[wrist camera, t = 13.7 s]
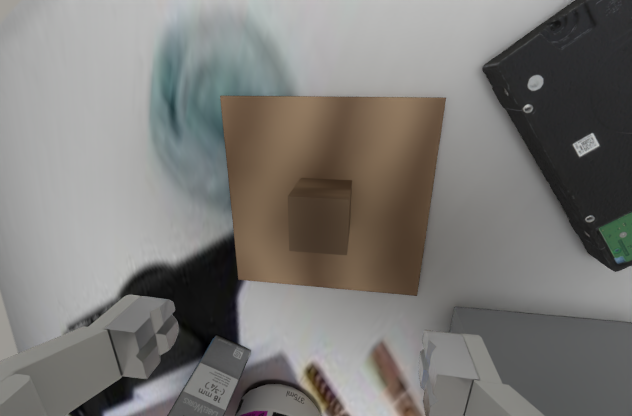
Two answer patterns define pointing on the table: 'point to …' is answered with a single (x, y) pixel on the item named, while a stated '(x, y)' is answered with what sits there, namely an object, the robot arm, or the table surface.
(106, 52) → the table surface
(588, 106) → the disk drive
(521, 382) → the storage box
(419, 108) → the lid
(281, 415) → the supplement can
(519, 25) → the table surface
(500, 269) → the table surface
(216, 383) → the label tape cartridge
